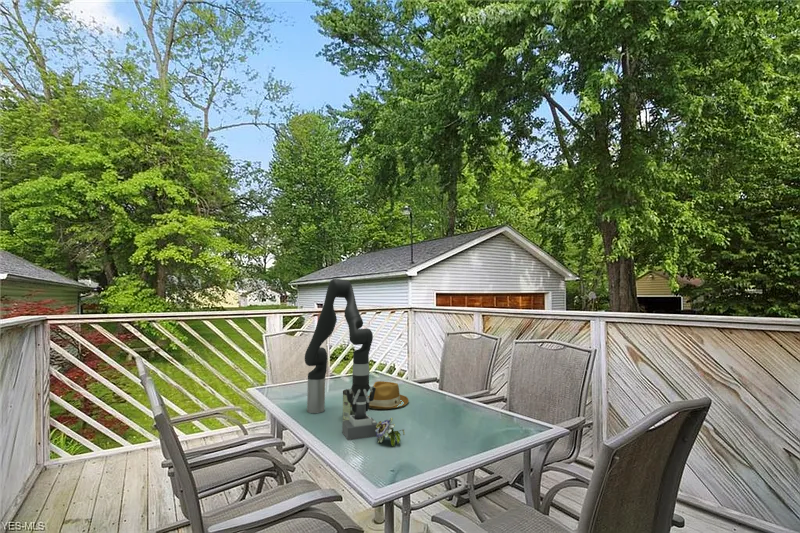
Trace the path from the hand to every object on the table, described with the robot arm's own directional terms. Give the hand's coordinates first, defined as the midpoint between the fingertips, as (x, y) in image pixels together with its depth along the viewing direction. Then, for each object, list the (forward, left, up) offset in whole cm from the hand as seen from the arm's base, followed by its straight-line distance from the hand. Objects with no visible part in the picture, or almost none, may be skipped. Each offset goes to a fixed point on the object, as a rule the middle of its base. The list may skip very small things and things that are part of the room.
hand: (360, 411), depth 178 cm
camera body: (0, 0, -10) cm, 10 cm away
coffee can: (-21, +2, -10) cm, 23 cm away
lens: (0, 0, -3) cm, 3 cm away
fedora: (-42, +26, -11) cm, 50 cm away
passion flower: (+13, +9, -10) cm, 19 cm away
